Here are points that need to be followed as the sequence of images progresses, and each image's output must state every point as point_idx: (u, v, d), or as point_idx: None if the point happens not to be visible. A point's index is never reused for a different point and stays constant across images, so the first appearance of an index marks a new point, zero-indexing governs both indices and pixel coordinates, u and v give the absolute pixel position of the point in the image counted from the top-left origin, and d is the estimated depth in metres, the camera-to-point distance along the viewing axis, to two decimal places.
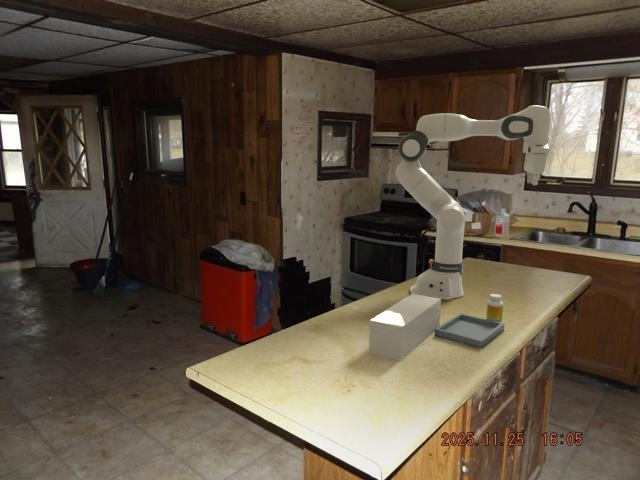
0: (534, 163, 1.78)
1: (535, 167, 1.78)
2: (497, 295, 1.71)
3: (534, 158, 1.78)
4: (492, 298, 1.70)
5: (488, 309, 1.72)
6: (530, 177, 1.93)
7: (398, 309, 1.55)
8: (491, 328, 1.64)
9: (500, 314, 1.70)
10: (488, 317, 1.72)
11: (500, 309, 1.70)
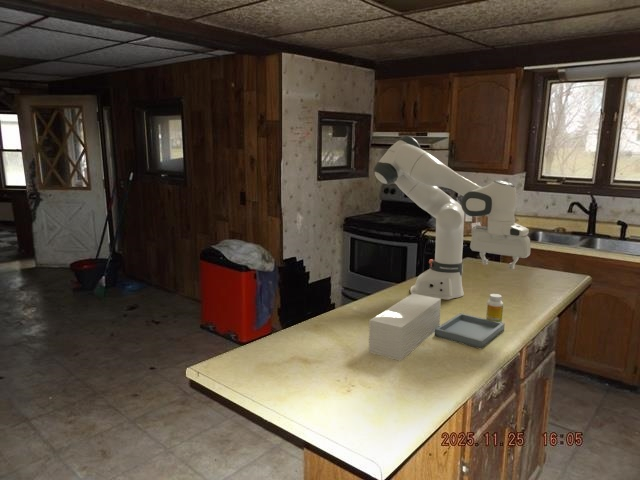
0: (526, 247, 1.60)
1: (527, 251, 1.60)
2: (497, 295, 1.71)
3: (526, 242, 1.60)
4: (492, 298, 1.70)
5: (488, 309, 1.72)
6: (484, 257, 1.72)
7: (398, 308, 1.55)
8: (491, 328, 1.64)
9: (500, 314, 1.70)
10: (488, 317, 1.72)
11: (500, 309, 1.70)
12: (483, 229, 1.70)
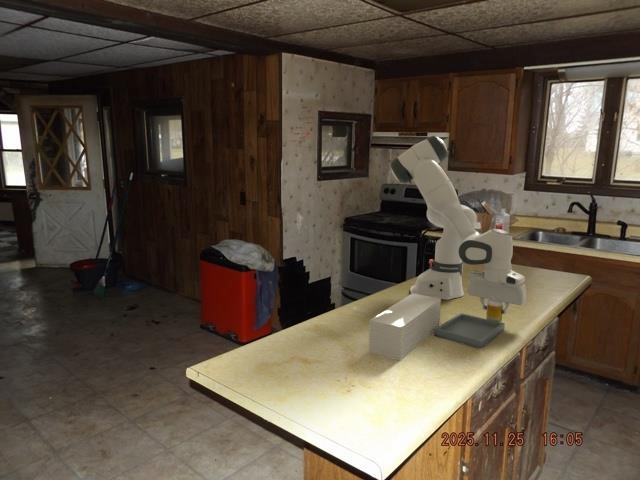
0: (522, 295, 1.63)
1: (523, 299, 1.64)
2: None
3: (522, 290, 1.63)
4: (492, 298, 1.70)
5: (488, 309, 1.72)
6: (485, 303, 1.75)
7: (398, 308, 1.55)
8: (491, 328, 1.64)
9: (500, 314, 1.70)
10: (488, 317, 1.72)
11: (500, 309, 1.70)
12: (480, 275, 1.73)
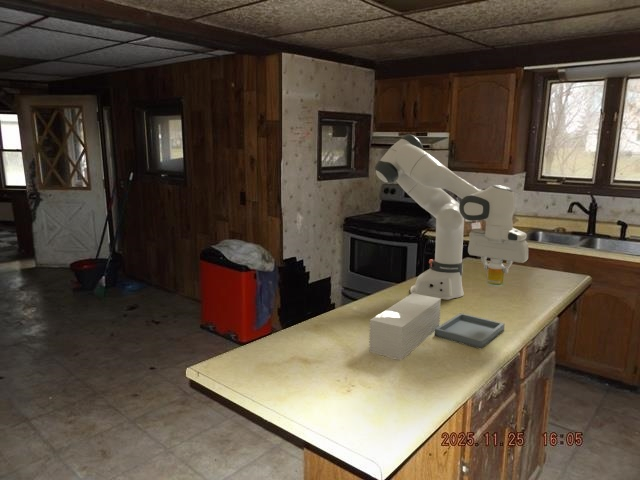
0: (524, 252, 1.59)
1: (525, 256, 1.60)
2: None
3: (524, 246, 1.59)
4: (493, 261, 1.67)
5: (489, 272, 1.68)
6: (486, 262, 1.70)
7: (398, 308, 1.55)
8: (491, 328, 1.64)
9: (501, 277, 1.67)
10: (489, 280, 1.68)
11: (501, 272, 1.66)
12: (481, 233, 1.69)
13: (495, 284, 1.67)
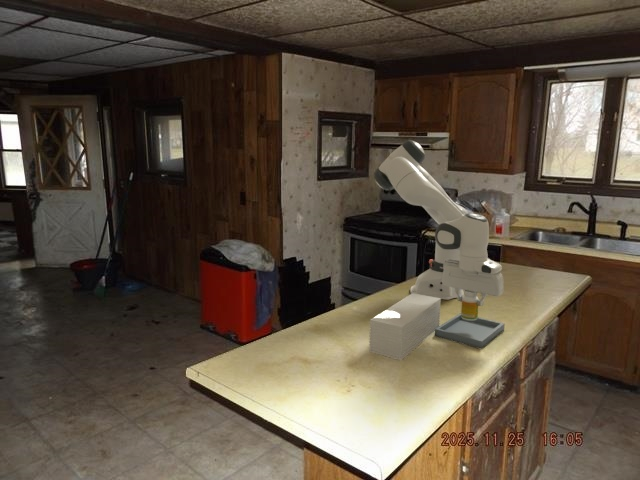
0: (498, 285, 1.51)
1: (499, 290, 1.51)
2: None
3: (498, 280, 1.51)
4: (467, 293, 1.58)
5: (462, 305, 1.59)
6: (460, 294, 1.62)
7: (398, 308, 1.55)
8: (491, 328, 1.64)
9: (475, 311, 1.58)
10: (463, 314, 1.60)
11: (475, 305, 1.58)
12: (455, 263, 1.61)
13: (469, 318, 1.58)
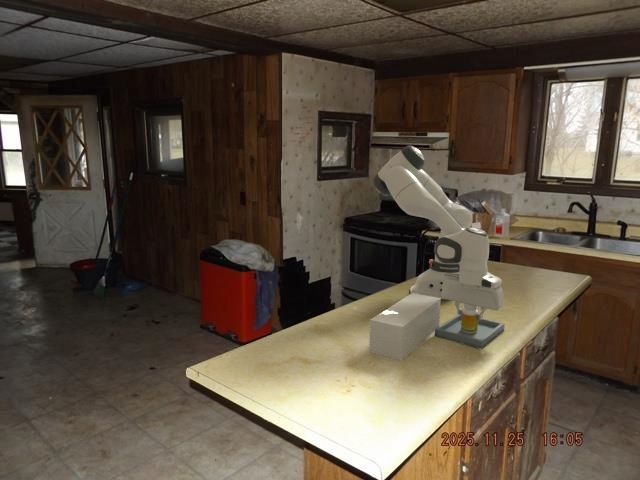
0: (498, 300, 1.52)
1: (499, 304, 1.52)
2: None
3: (498, 294, 1.51)
4: (466, 306, 1.59)
5: (462, 318, 1.60)
6: (460, 307, 1.63)
7: (398, 308, 1.55)
8: (491, 328, 1.64)
9: (475, 323, 1.59)
10: (462, 327, 1.61)
11: (475, 318, 1.59)
12: (455, 277, 1.62)
13: (469, 331, 1.59)
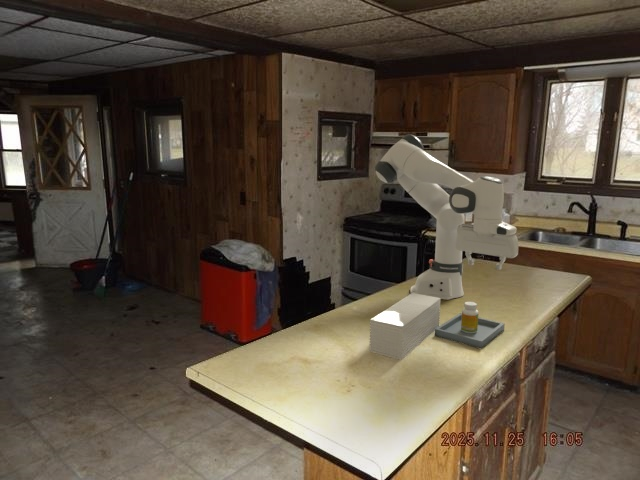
0: (514, 247, 1.51)
1: (514, 251, 1.52)
2: (472, 303, 1.60)
3: (513, 241, 1.51)
4: (466, 306, 1.59)
5: (462, 318, 1.60)
6: (470, 257, 1.63)
7: (398, 308, 1.55)
8: (491, 328, 1.64)
9: (475, 323, 1.59)
10: (462, 327, 1.61)
11: (475, 318, 1.59)
12: (469, 228, 1.61)
13: (469, 331, 1.59)
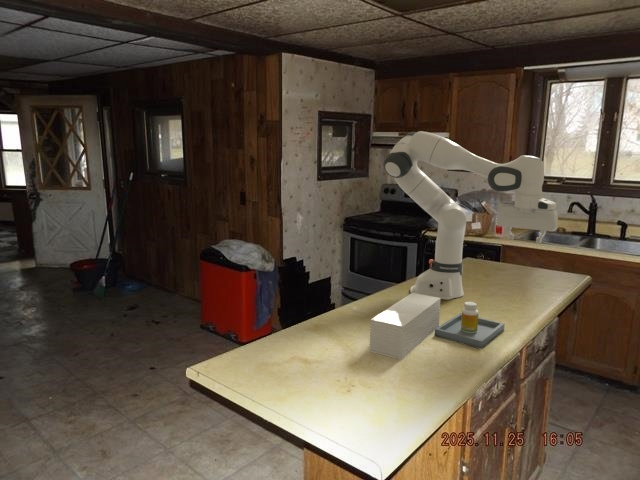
0: (554, 220, 1.61)
1: (555, 225, 1.61)
2: (472, 303, 1.60)
3: (554, 215, 1.61)
4: (466, 306, 1.59)
5: (462, 318, 1.60)
6: (510, 233, 1.73)
7: (398, 308, 1.56)
8: (491, 328, 1.64)
9: (475, 323, 1.59)
10: (462, 327, 1.61)
11: (475, 318, 1.59)
12: (510, 204, 1.71)
13: (469, 331, 1.59)
